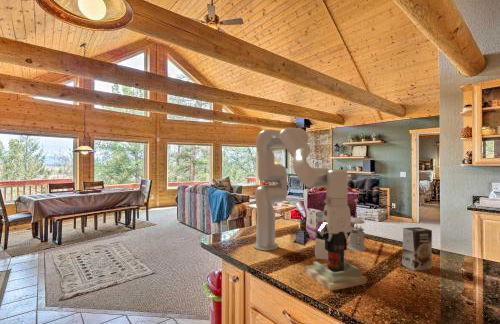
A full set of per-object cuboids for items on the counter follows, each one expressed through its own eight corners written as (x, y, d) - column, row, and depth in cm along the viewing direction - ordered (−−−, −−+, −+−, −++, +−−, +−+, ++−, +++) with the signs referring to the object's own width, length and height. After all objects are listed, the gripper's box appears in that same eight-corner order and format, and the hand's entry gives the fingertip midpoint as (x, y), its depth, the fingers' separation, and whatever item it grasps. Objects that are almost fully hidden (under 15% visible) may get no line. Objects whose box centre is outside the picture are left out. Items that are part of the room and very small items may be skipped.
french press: (362, 244, 135) (363, 198, 136) (370, 252, 124) (371, 201, 124) (343, 244, 136) (344, 197, 136) (349, 251, 125) (350, 200, 125)
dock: (304, 271, 101) (304, 258, 101) (337, 266, 107) (337, 254, 107) (330, 290, 86) (330, 276, 86) (366, 283, 92) (366, 269, 92)
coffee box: (415, 271, 103) (415, 231, 103) (401, 265, 109) (402, 227, 109) (432, 269, 105) (432, 230, 105) (418, 263, 112) (418, 226, 112)
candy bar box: (323, 240, 142) (324, 211, 142) (316, 241, 140) (316, 211, 140) (313, 235, 152) (313, 208, 152) (305, 235, 151) (306, 208, 151)
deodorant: (324, 266, 98) (325, 227, 98) (339, 266, 99) (340, 227, 99) (331, 273, 92) (331, 232, 92) (346, 272, 93) (347, 232, 93)
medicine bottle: (332, 260, 113) (332, 233, 113) (315, 259, 114) (316, 232, 114) (330, 254, 120) (330, 229, 120) (314, 253, 121) (315, 228, 121)
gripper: (323, 204, 89) (322, 256, 89) (362, 202, 95) (361, 250, 95) (311, 201, 96) (310, 248, 96) (348, 199, 102) (347, 244, 102)
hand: (335, 249), depth 96 cm, fingers closed on deodorant, 5 cm apart
